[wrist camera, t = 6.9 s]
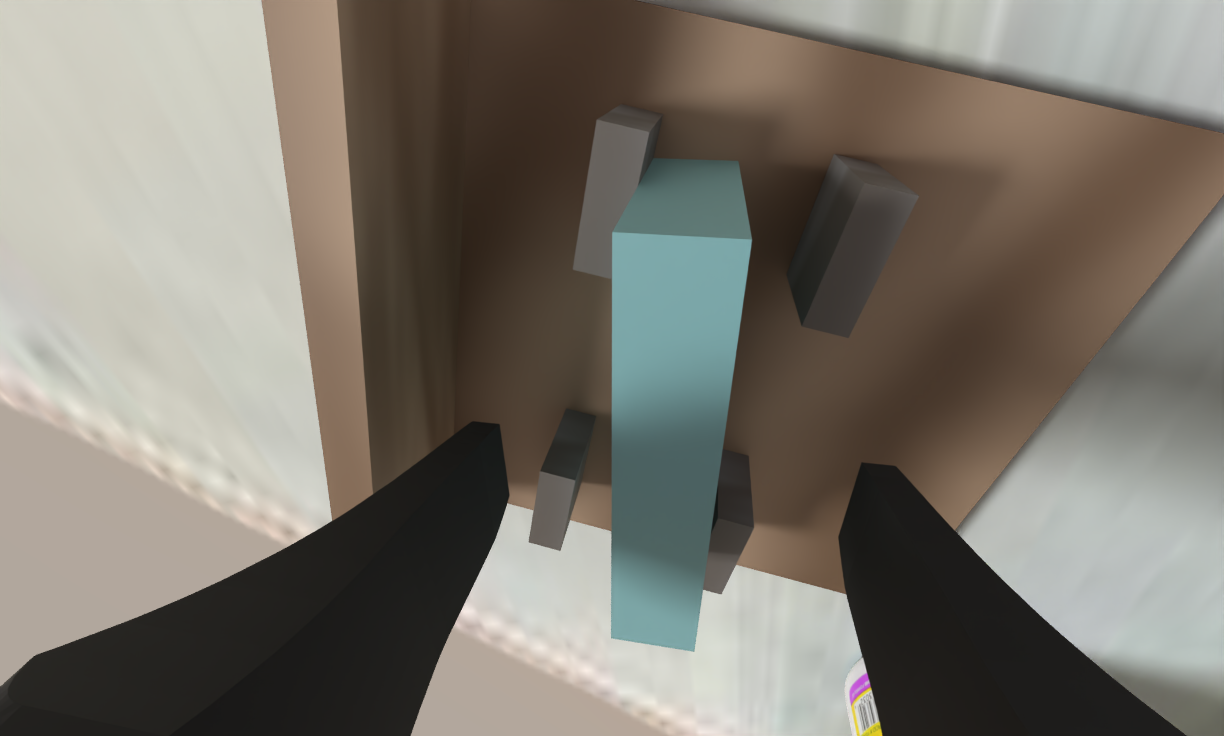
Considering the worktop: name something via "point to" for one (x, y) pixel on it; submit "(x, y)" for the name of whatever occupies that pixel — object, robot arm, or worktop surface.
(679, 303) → the door panel
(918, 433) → the board
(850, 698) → the supplement bottle
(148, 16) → the worktop surface
